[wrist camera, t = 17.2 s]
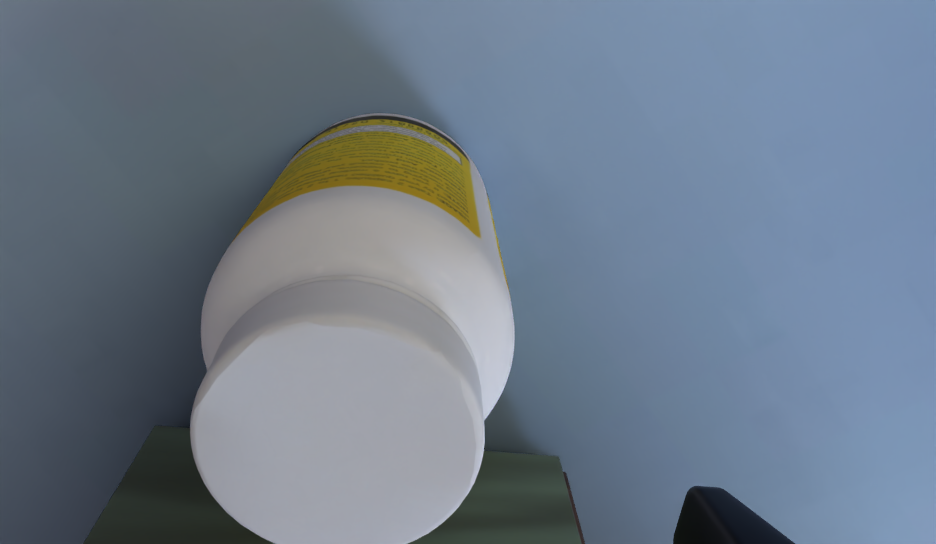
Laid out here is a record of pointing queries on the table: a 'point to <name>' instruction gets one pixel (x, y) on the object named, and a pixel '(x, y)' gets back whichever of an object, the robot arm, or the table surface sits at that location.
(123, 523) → the drawer
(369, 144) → the supplement bottle
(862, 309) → the table surface
